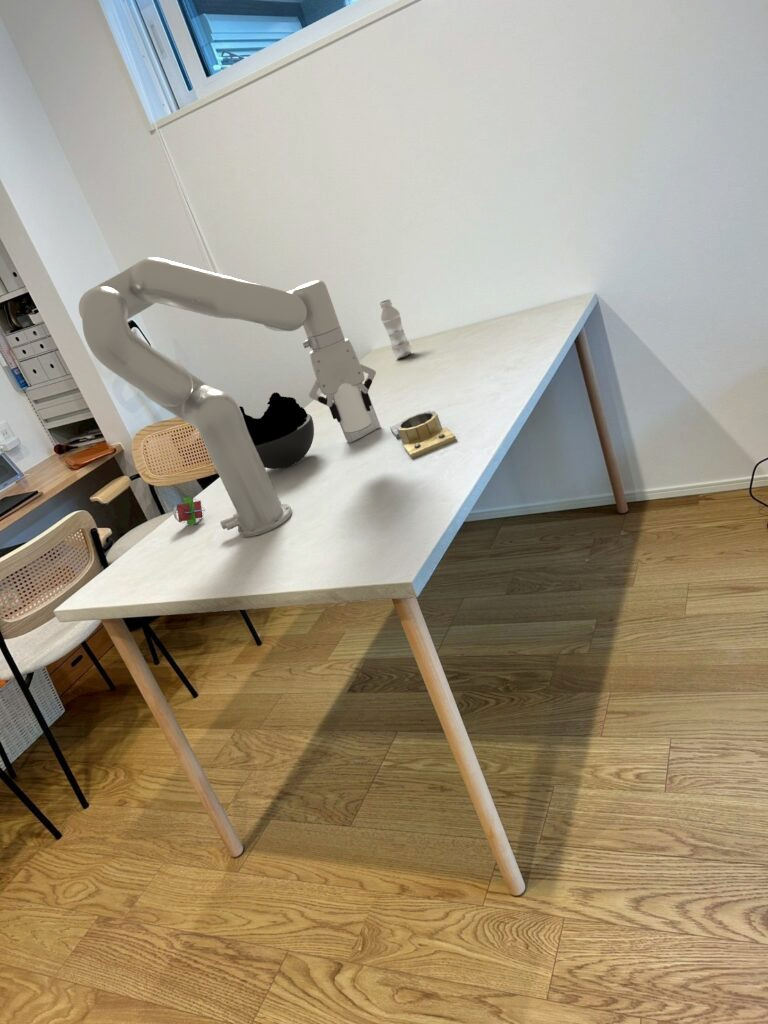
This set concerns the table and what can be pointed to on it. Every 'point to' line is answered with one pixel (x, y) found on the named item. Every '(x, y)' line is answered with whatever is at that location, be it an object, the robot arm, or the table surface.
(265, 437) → the coal bowl
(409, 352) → the plastic bottle
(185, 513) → the geometric puzzle
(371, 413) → the white engraved tombstone
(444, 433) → the brass ring mounting bracket
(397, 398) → the table surface
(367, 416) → the can
